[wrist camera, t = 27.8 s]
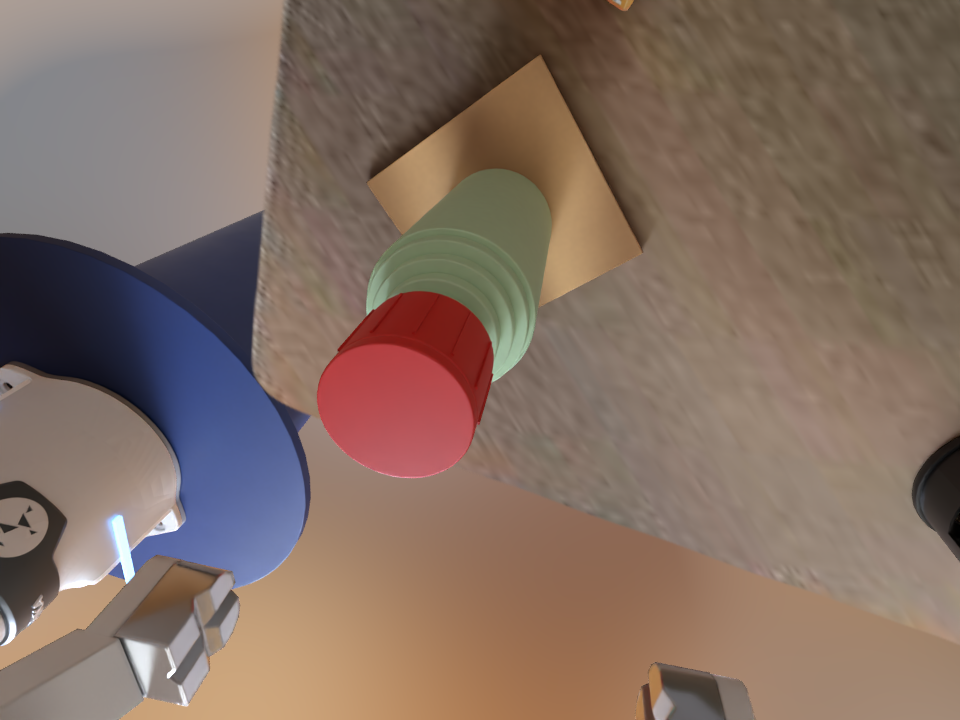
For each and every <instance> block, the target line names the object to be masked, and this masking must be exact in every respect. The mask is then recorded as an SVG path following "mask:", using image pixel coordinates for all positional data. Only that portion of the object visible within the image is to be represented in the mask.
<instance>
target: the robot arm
mask: <svg viewBox="0 0 960 720" xmlns="http://www.w3.org/2000/svg"><path fill="white" fill-rule="evenodd" d="M180 485H181V472H180V467H179V463H178V460H177V458H176V455H175V453H174V451H173V449H172V447H171V445H170V444H169V442H168V441H167V439H166V438H165V436H164V435H163V433H162V432H161V431H160V430H159V428H158V427H157V426H156V425H155V424H154V423H153V422H152V421H151V420H150V419H149V418H148V417H147V416H146V415H145V414H144V413H143V412H142V411H140V410H139V409H138V408H137V407H135V406H134V405H133V404H132V403H130V402H129V401H127V400H126V399H124V398H123V397H121V396H120V395H118V394H116V393H114V392H113V391H111V390H109V389H107V388H105V387H102V386H100V385H98V384H95V383H92V382H90V381H86V380H83V379H79V378H74V377H67V376H57V375H51V374H47V373H45V372H42V371H40V370H38V369H36V368H34V367H31V366H29V365H27V364H24V363H21V362H17V361H11V362H9V363H8V364H6V365H4V366H3V367H1V368H0V646H3V645H6V644H8V643H9V642H10V641H11V640H13V638H15V637H16V636H17V635H18V634H19V633H20V632H21V631H22V630H24V629H25V628H26V627H28V626H30V625H31V624H32V623H33V622H34V621H35V620H36V619H37V618H38V617H39V616H40V614H41V612H42V611H43V610H44V609H45V608H46V607H47V606H48V605H49V604H50V603H51V602H52V601H53V600H54V599H55V598H56V596H57V595H58V592H59V591H62V590H64V589H69V588H79V587H83V586H85V585H87V584H92V585H94V584H96V583H97V582H99V581H100V580H102V579H103V578H104V577H105V576H106V575H107V574H108V573H109V572H110V571H111V570H112V569H113V568H114V567H115V566H116V565H117V564H118V563H119V562H120V561H121V563H122V567H123V571H124V576H125V580H126V585H125V586H124V588H122V590H121V591H120V592H119V593H118V594H117V595H116V596H115V597H114V598H113V599H112V601H111V602H110V603H109V604H108V605H107V606H106V607H105V608H104V610H103V611H102V612H101V613H100V614H99V615H98V616H97V617H96V618H95V619H94V621H93V622H92V623H91V624H90V625H89V626H88V627H87V628H86V630H82V629H76V630H74V631H73V632H71V633H69V634H67V635H65V636H63V637H61V638H59V639H58V640H56V641H54V642H52V643H50V644H48V645H46V646H44V647H43V648H41V649H39V650H37V651H35V652H33V653H31V654H30V655H28V656H26V657H24V658H22V659H20V660H18V661H17V662H15V663H13V664H11V665H9V666H7V667H5V668H3V669H2V670H0V720H119V719H120V718H121V717H123V716H124V715H125V714H127V713H128V712H129V711H131V710H132V709H133V708H134V707H136V706H137V705H138V704H139V703H141V702H142V701H143V700H144V698H143V697H146V698H151V699H155V700H160V701H165V702H170V703H174V704H179V705H184V706H188V704H189V703H190V701H191V699H192V698H193V696H194V695H195V693H196V692H197V690H198V688H199V687H200V685H201V684H202V682H203V680H204V679H205V677H206V676H207V674H208V672H209V671H210V661H209V660H210V658H209V657H210V656H211V655H213V654H214V653H216V652H217V651H219V650H221V649H222V648H224V647H225V645H226V643H227V642H228V640H229V638H230V637H231V635H232V633H233V631H234V628H235V626H236V623H237V620H238V617H239V611H240V610H239V609H240V603H239V597H238V596H237V595H236V594H235V593H234V592H233V591H232V590H231V588H232V587H233V585H234V584H235V579H234V575H233V572H232V571H228V570H224V569H219V568H215V567H210V566H206V565H201V564H197V563H192V562H187V561H184V560H181V559H176V558H171V557H166V556H161V555H156V556H154V557H153V558H151V559H150V560H148V561H147V562H146V563H145V564H144V565H143V566H142V567H141V568H140V569H139V570H138V572H137V573H136V574H134V569H133V565H132V560H131V555H130V552H131V551H132V550H133V549H134V548H135V547H136V546H137V545H138V544H139V543H140V542H141V541H142V540H143V539H144V538H145V537H147V536H151V535H156V534H161V533H166V532H171V531H175V530H177V529H178V528H179V527H180V526H181V525H182V524H183V523H185V521H186V515H185V512H184V509H183V506H182V504H181V501H180V498H179V492H180ZM648 679H649V683H648V684H646V685H643V686H642V687H641V689H640V692H639V694H638V697H637V704H636V712H635V720H756V719H755V716H754V712H753V709H752V705H751V701H750V698H749V695H748V691H747V688H746V687H745V685H744V684H743V682H742V681H740V680H738V679H734V678H729V677H724V676H719V675H714V674H710V673H708V672H703V671H698V670H693V669H688V668H682V667H678V666H672V665H667V664H662V663H657V662H655V663H653V664H652V665H651V667H650V669H649V671H648Z"/></svg>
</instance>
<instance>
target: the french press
mask: <svg viewBox="0 0 960 720" xmlns="http://www.w3.org/2000/svg"><path fill="white" fill-rule="evenodd" d="M912 498H913V505H914V507H915V509H916V511H917V513H918V515H919V517H920V518H921V519H922V520H923V521H924V522H925V523H926V525H927V526H928V527H930V528H931V529H933V530H934V531H936V532H937V533H938V535H939V536H940V537H941V538H942V540H943V541H944V542H945V544H946V545H947V546H948V547H949V549H950V550H951V551H952V553H953V554H954V555H955V556H956V558H957V559H958V560H959V561H960V522H958V521H956V518H957V516H958V514H959V512H960V437H958V438H956V439H954V440H953V441H951V442H950V443H948V444H946V445H945V446H943V447H942V448H940V449H939V450H938V451H937V452H936V453H935V454H934V455H932V456H931V457H930V458H929V459H928V460H927V461H926V463H925V464H924V465H923V467H922V468H921V469H920V471H919V472H918V474H917V477H916V479H915V481H914V484H913V490H912Z"/></svg>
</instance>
